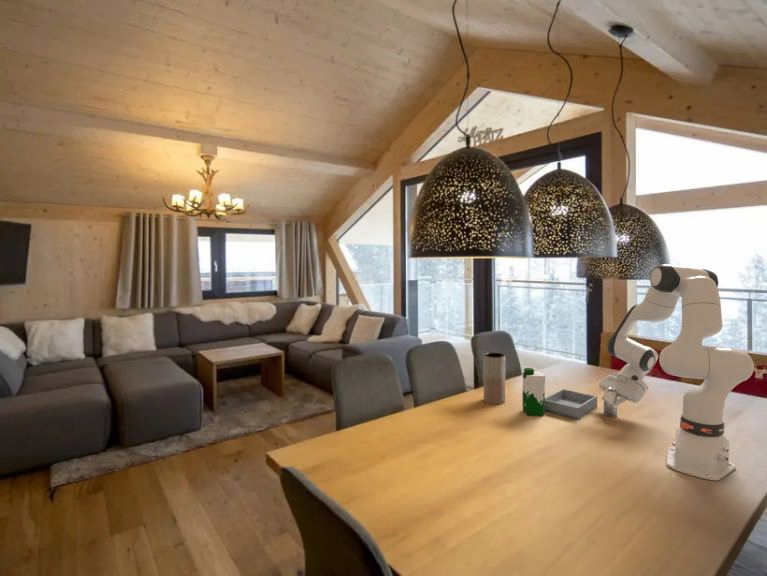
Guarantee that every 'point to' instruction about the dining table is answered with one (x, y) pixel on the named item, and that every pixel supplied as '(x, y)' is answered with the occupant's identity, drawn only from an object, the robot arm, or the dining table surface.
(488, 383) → the planter
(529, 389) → the milk carton
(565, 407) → the bin
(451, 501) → the dining table surface
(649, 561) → the dining table surface
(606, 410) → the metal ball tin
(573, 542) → the dining table surface
